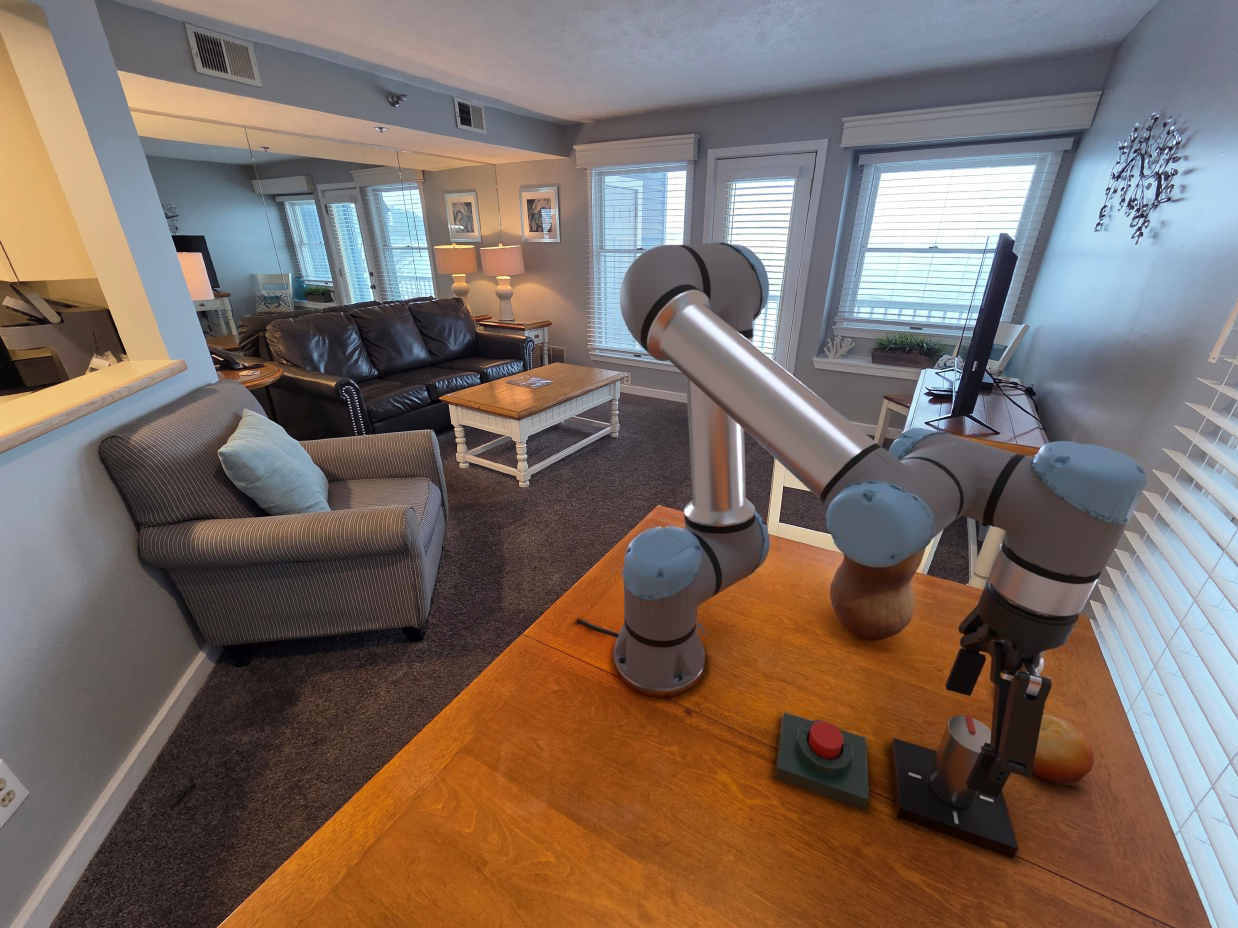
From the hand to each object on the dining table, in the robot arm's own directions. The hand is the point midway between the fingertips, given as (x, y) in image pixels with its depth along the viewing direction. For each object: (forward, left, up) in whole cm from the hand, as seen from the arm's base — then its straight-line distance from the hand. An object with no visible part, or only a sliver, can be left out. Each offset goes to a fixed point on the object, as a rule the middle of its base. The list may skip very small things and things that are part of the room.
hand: (968, 735), depth 59 cm
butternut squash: (-9, +29, -12) cm, 32 cm away
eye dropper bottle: (+12, +21, -12) cm, 27 cm away
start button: (-15, -1, -8) cm, 17 cm away
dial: (0, 0, -9) cm, 9 cm away
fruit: (+13, +10, -12) cm, 20 cm away
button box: (-15, -1, -11) cm, 19 cm away
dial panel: (0, 0, -11) cm, 11 cm away
